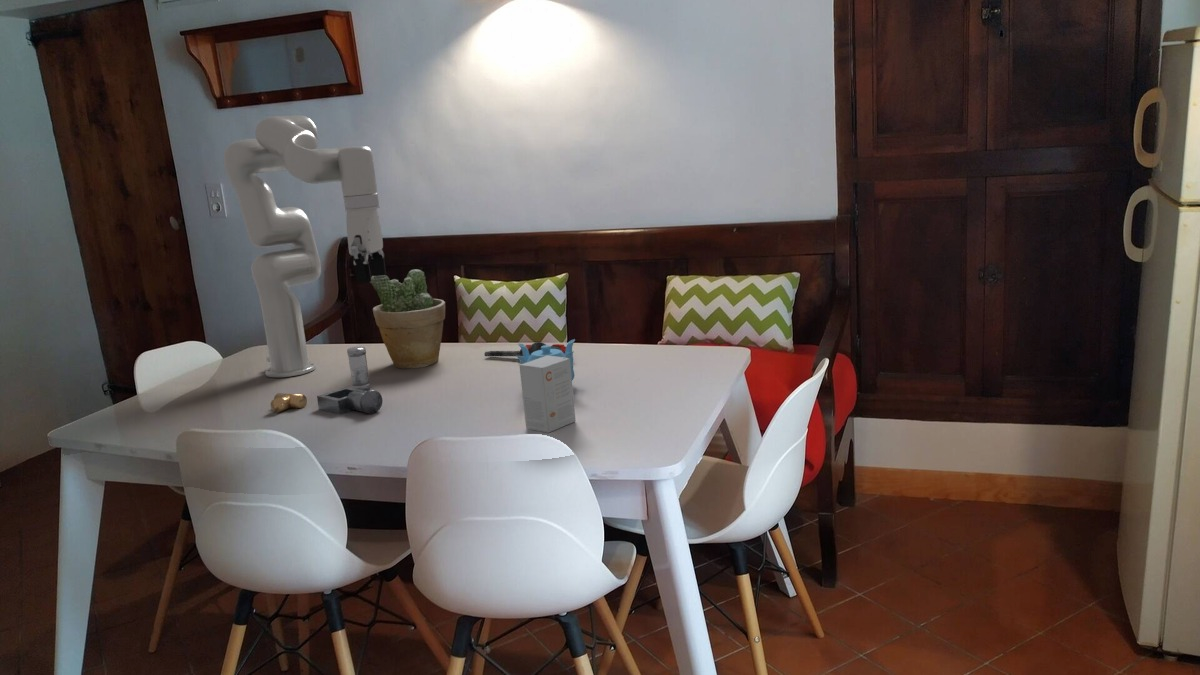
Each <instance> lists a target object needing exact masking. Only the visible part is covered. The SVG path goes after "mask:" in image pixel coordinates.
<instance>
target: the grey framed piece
mask: <svg viewBox="0 0 1200 675" xmlns="http://www.w3.org/2000/svg"><path fill="white" fill-rule="evenodd" d="M316 398H317V406H318V410H322V411H326V412H329V413H333V414H334V413H335V414H339V415H340V414H344V413H347V412H350V411H358V412H362V413H365V414H371V415H373V414H376V413H377V412H379V411H380V410H381V408H382V405H383V396H382V394H381V392H379V391H377V390H374V389H369V390H366V391H365V390H360V389H355V388H352V387H349V386H347V387H343V388H340V389H336V390H332V391H330V392H326V393H323V394H320V395H316Z"/></svg>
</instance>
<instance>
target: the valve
mask: <svg viewBox="0 0 1200 675" xmlns="http://www.w3.org/2000/svg"><path fill="white" fill-rule="evenodd" d="M545 345H547V344H546V343H544V342H542V341H537V342H533V343H531V344H525V346H526V347H527V349H528V351H529V354H530V355H531V354H532V353H533V352H535V351H538V350H542V349H541V347H542V346H545ZM550 346H551V349H559V350H561V351H562V352H563V353H564V354H565V351H566V346H565V344H563V343H562V344H561V343H556V344H552V345H550ZM484 356H485V357H516V356H523V352H522V349H521V348H520V349H519V350H489V351H488V350H487V351H484Z"/></svg>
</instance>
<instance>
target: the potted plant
mask: <svg viewBox="0 0 1200 675" xmlns="http://www.w3.org/2000/svg"><path fill="white" fill-rule="evenodd" d="M426 277H427V276H425V271H422V270H421V269H411V270H410V271H408V273H407V275H406V277H405V278H404V279H403V282H402V283H401V281H400V282H399V279H396V278H394V279H391V280H390V278H389V276H388V275H387V274H386V275H383V276H373V275H371V282H369V284H371V285H372V286H373V289H374V290H375V291H376V292H377V295H378V298H379V299H380V304H379V305H376V306H373V308H372V312H373V317H374V318H375V324H376V326H377V327H378V328H379V332H380V335H381V338H382V341H383V344H384V346H385V348H386V351H387V353H388V355H389V357H390V360H391V361H392V363H393V365H394V366H395V368H397V367H398V369H403V368H411V369H419V367H421V368H424V367H425V368H426V367H428V366H432V365H434V364H436V363H438V361H439V359H440V353H441V352H440V350H441V343H442V338H443V328H444V320H445V319H446V301H444V299H441V298H440V299H439V298H434V297H433V296H432V295H430V293H428V291H427V290H428V285H427V283H426Z"/></svg>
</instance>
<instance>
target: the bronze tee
mask: <svg viewBox="0 0 1200 675" xmlns="http://www.w3.org/2000/svg"><path fill="white" fill-rule="evenodd" d="M307 402H308V399H307V396H306V395H305V394H297V393H284V392H283V393H282V392H281V393H280V392H277V393H276V394H275V395H274V397H273V399H272V400H271V402H270V408H271V410H272V411H273V413H276V414H279V413H280V412H283V411H286V410H287V409H291V408H296V409H303V408H306V405H307V404H308V403H307Z"/></svg>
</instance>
